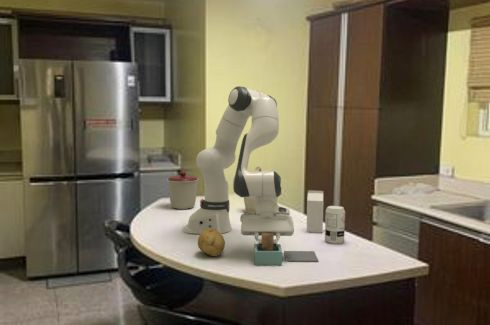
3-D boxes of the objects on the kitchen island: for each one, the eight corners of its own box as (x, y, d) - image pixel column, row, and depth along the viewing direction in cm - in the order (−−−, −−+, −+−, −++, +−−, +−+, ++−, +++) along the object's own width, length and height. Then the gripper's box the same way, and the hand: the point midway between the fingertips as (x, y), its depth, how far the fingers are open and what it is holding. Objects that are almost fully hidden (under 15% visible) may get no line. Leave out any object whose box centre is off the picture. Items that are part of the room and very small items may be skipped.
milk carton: (321, 233, 223) (323, 192, 221) (306, 232, 224) (307, 191, 222) (322, 229, 230) (323, 189, 228) (307, 228, 231) (308, 189, 229)
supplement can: (322, 239, 213) (323, 205, 211) (341, 238, 214) (342, 205, 212) (327, 244, 205) (328, 209, 203) (346, 244, 206) (347, 209, 204)
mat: (286, 261, 181) (286, 260, 181) (284, 252, 193) (284, 250, 193) (318, 261, 181) (318, 260, 181) (314, 252, 193) (314, 251, 193)
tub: (254, 264, 177) (254, 251, 177) (254, 256, 187) (254, 243, 187) (281, 265, 177) (282, 251, 177) (280, 256, 187) (280, 244, 187)
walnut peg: (261, 261, 180) (261, 235, 179) (261, 257, 185) (261, 231, 184) (273, 261, 180) (274, 235, 179) (272, 257, 185) (273, 232, 184)
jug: (276, 211, 269) (276, 166, 266) (262, 216, 256) (262, 169, 253) (252, 207, 277) (253, 164, 275) (237, 212, 264) (238, 167, 262)
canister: (197, 211, 267) (197, 173, 264) (164, 210, 267) (163, 173, 265) (200, 204, 285) (200, 169, 282) (169, 204, 285) (169, 168, 283)
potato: (216, 248, 197) (216, 224, 196) (228, 257, 186) (229, 232, 185) (192, 251, 193) (192, 227, 192) (204, 261, 182) (203, 235, 180)
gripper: (240, 208, 187) (239, 240, 179) (293, 209, 187) (295, 240, 179) (240, 217, 192) (239, 248, 184) (291, 217, 192) (293, 249, 184)
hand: (267, 244), depth 181 cm, fingers closed on walnut peg, 4 cm apart
